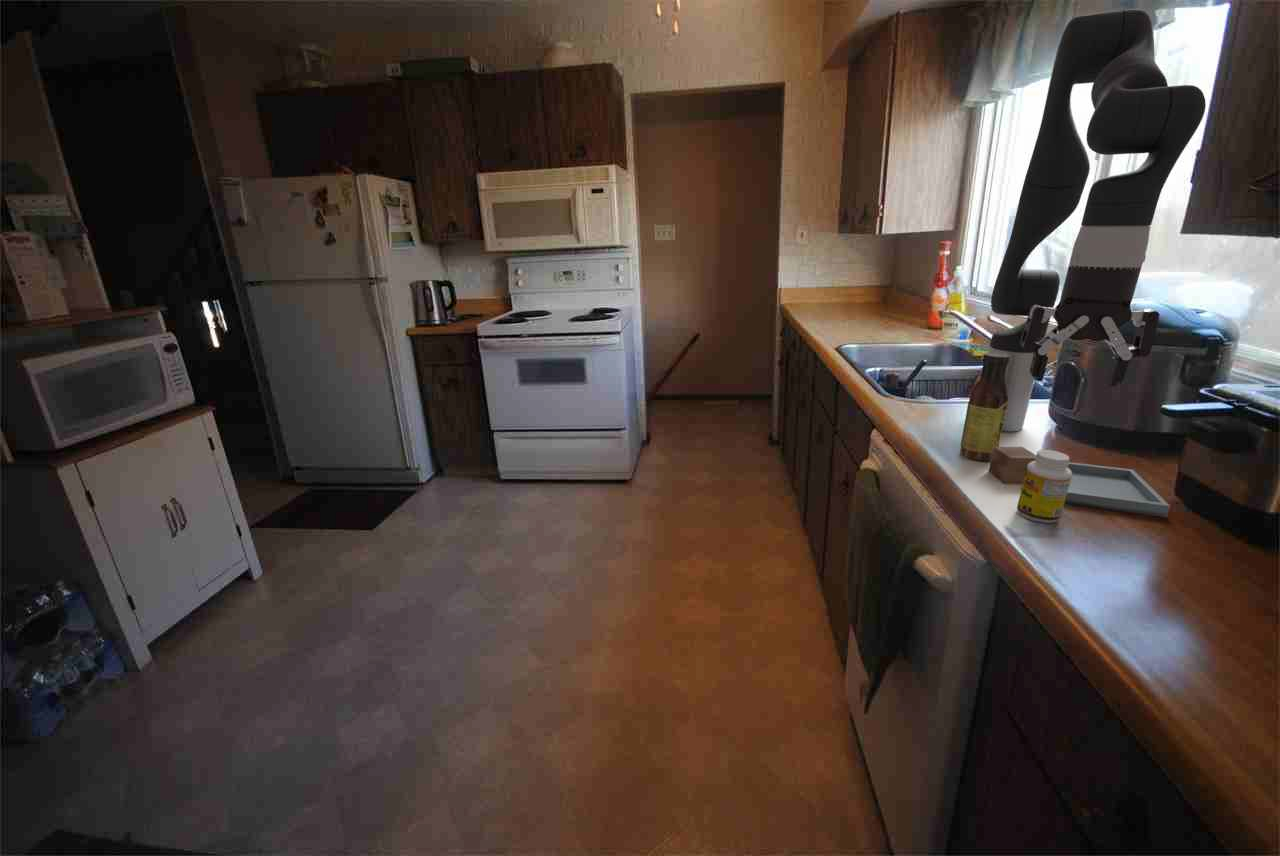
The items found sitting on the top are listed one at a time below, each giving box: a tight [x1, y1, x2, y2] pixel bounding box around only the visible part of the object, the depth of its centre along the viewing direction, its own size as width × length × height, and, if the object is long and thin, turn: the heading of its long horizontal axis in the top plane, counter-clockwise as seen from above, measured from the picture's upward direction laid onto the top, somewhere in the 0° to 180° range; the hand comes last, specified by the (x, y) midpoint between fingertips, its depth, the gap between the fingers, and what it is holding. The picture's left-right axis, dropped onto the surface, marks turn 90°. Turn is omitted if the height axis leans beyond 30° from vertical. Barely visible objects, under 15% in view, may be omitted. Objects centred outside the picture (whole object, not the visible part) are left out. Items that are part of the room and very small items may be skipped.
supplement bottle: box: [1016, 449, 1072, 524], centre depth 84 cm, size 6×6×10 cm
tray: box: [1064, 461, 1171, 519], centre depth 93 cm, size 14×14×2 cm
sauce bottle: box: [960, 352, 1009, 462], centre depth 104 cm, size 6×6×20 cm
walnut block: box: [987, 446, 1037, 485], centre depth 98 cm, size 5×5×5 cm
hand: (1072, 382), depth 79 cm, fingers open, 8 cm apart
